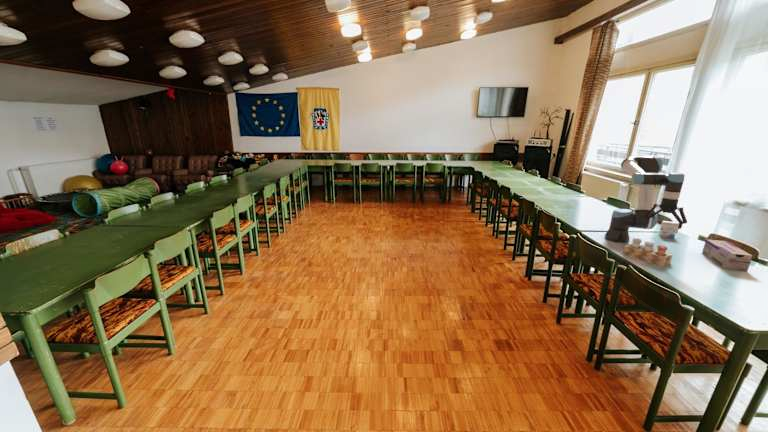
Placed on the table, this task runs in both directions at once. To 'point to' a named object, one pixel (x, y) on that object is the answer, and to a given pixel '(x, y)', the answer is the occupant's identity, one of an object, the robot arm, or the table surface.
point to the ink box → (668, 229)
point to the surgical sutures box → (727, 255)
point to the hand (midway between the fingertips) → (662, 230)
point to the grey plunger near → (636, 243)
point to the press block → (647, 255)
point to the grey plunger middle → (648, 246)
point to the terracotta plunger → (661, 250)
